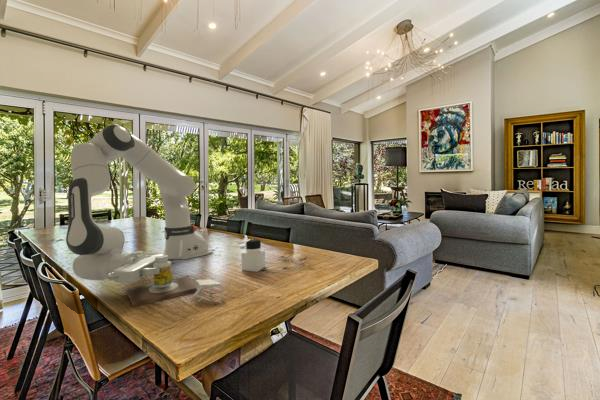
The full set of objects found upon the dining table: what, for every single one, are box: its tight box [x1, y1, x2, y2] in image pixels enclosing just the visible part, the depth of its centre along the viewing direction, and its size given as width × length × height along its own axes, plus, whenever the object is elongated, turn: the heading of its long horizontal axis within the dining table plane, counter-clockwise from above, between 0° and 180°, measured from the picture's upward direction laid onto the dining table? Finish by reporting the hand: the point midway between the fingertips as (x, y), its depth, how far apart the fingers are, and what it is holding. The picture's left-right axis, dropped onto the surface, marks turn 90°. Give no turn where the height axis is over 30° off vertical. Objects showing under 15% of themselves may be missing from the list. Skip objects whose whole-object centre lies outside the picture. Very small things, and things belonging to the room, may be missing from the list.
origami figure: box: [193, 279, 226, 302], centre depth 95 cm, size 12×8×5 cm
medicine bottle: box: [241, 238, 266, 273], centre depth 124 cm, size 7×7×12 cm
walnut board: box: [125, 275, 199, 307], centre depth 101 cm, size 20×14×1 cm
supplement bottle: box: [153, 255, 173, 287], centre depth 100 cm, size 5×5×10 cm
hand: (165, 267), depth 100 cm, fingers closed on supplement bottle, 5 cm apart
